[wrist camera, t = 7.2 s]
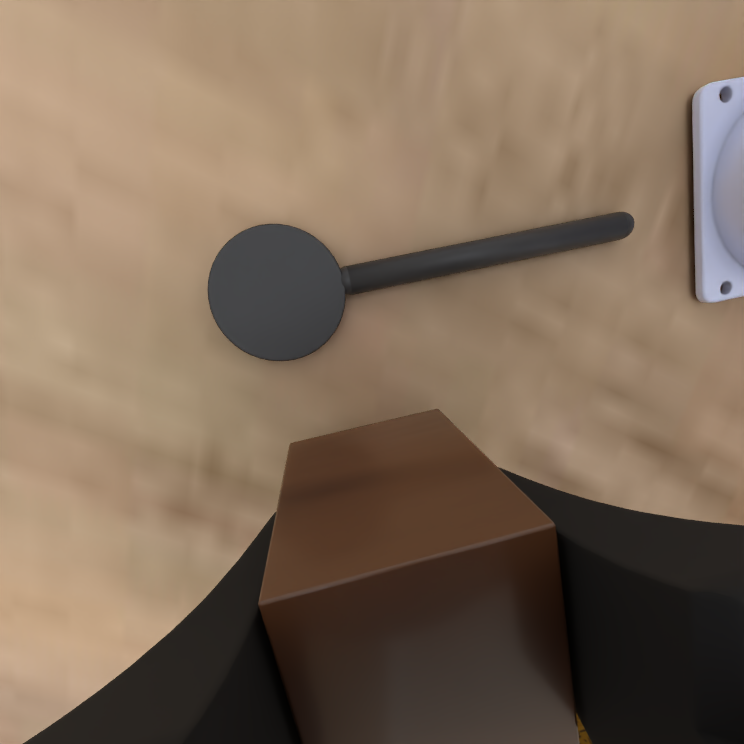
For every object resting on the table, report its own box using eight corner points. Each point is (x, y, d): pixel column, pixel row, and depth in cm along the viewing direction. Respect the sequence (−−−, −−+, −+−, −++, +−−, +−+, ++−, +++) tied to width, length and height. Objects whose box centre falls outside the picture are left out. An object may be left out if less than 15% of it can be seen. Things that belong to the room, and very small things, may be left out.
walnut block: (460, 538, 13) (581, 750, 7) (323, 574, 12) (327, 831, 6) (438, 407, 12) (557, 523, 6) (289, 443, 11) (256, 603, 5)
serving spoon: (617, 162, 15) (637, 153, 14) (624, 284, 16) (643, 284, 15) (198, 241, 14) (188, 237, 13) (234, 369, 15) (228, 374, 14)
